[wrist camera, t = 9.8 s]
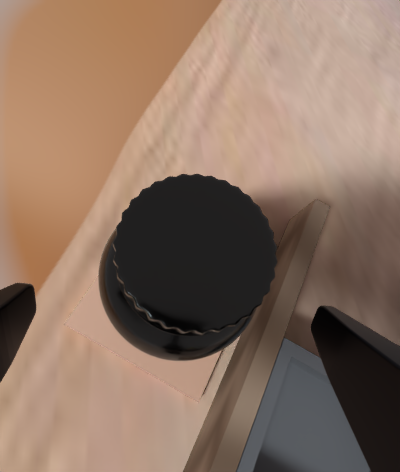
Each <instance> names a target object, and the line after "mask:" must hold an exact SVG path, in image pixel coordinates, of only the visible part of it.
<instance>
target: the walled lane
mask: <svg viewBox="0 0 400 472" xmlns="http://www.w3.org/2000/svg"><path fill="white" fill-rule="evenodd" d="M329 208H330V206H328V205H326V204H325V203H323V202H321V201H319V200H317V199H315V200H314V201H313V202H311V203H310V204H309V205H308V206H306V207H305V208H304V209H303V210H301V211H300V212H299V213H298V214H297V215H295V216H294V217H293V218H292V219H290V220H289V223H288V225H287V228H286V230H285V232H284V235H283V237H282V239H281V242H280V244H279V246H278V249H277V251H276V254H275V255H276V258H277V264H276V266H275V268H274V270H275V278H274V279H273V281H272V282H271V284H270V292H269V293H267V294H266V295H265V296H264V297H263V301H262V304H261V305H260V306H259V307H257V309H256V311H255V313H254V316H253V318H252V319H251V321H250V323H249V324H248V326H247V327H246V329H245V330H244V331H243V332H242V334H241V336H240V339H239V341H238V343H237V346H236V348H235V350H234V353H233V355H232V357H231V360H230V362H229V365H228V367H227V369H226V372H225V374H224V376H223V379H222V381H221V383H220V386H219V388H218V391H217V393H216V395H215V398H214V400H213V402H212V405H211V407H210V409H209V412H208V414H207V417H206V419H205V421H204V424H203V426H202V428H201V431H200V433H199V435H198V438H197V440H196V442H195V445H194V447H193V450H192V452H191V454H190V457H189V459H188V461H187V464H186V466H185V468H184V471H183V472H236V469H237V467H238V464H239V461H240V458H241V455H242V453H243V450H244V447H245V444H246V441H247V439H248V436H249V433H250V430H251V427H252V425H253V422H254V419H255V416H256V413H257V411H258V408H259V405H260V402H261V399H262V397H263V394H264V391H265V388H266V385H267V382H268V380H269V377H270V374H271V371H272V368H273V366H274V363H275V360H276V357H277V354H278V352H279V349H280V346H281V343H282V340H283V338H284V335H285V332H286V329H287V326H288V324H289V321H290V318H291V315H292V312H293V309H294V307H295V304H296V301H297V298H298V295H299V293H300V290H301V287H302V284H303V281H304V279H305V276H306V273H307V270H308V267H309V265H310V262H311V259H312V256H313V253H314V251H315V248H316V245H317V242H318V239H319V236H320V234H321V231H322V228H323V225H324V222H325V220H326V217H327V214H328V211H329Z"/></svg>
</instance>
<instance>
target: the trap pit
mask: <svg viewBox="0 0 400 472" xmlns="http://www.w3.org/2000/svg"><path fill="white" fill-rule="evenodd" d="M236 472H371V471H370V468H369V466H368V464H367V462H366V460H365V458H364V455H363V453H362V451H361V449H360V447H359V444H358V442H357V440H356V438H355V436H354V434H353V431H352V429H351V427H350V425H349V423H348V421H347V418H346V416H345V414H344V412H343V410H342V407H341V405H340V403H339V401H338V399H337V397H336V394H335V392H334V390H333V388H332V386H331V383H330V381H329V379H328V377H327V374H326V371H325V369H324V366H323V363H322V360H321V358H319V357H318V356H316V355H314V354H312V353H311V352H309V351H307V350H305V349H304V348H302V347H300V346H298V345H297V344H295V343H293V342H291V341H290V340H288V339H286V338H283V340H282V343H281V346H280V349H279V352H278V354H277V357H276V360H275V363H274V366H273V368H272V371H271V374H270V377H269V380H268V382H267V385H266V388H265V391H264V394H263V397H262V399H261V402H260V405H259V408H258V411H257V413H256V416H255V419H254V422H253V425H252V427H251V430H250V433H249V436H248V439H247V441H246V444H245V447H244V450H243V453H242V455H241V458H240V461H239V464H238V467H237V469H236Z"/></svg>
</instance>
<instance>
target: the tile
mask: <svg viewBox="0 0 400 472" xmlns="http://www.w3.org/2000/svg"><path fill="white" fill-rule="evenodd" d="M64 325H65V326H67V327H69V328H71V329H72V330H74V331H76V332H78V333H79V334H81V335H83V336H84V337H86V338H88V339H90V340H91V341H93V342H95V343H97V344H98V345H100V346H102V347H103V348H105V349H107V350H109V351H110V352H112V353H114V354H116V355H117V356H119V357H121V358H122V359H124V360H126V361H128V362H129V363H131V364H133V365H134V366H136V367H138V368H140V369H141V370H143V371H145V372H147V373H148V374H150V375H152V376H153V377H155V378H157V379H159V380H160V381H162V382H164V383H166V384H167V385H169V386H171V387H172V388H174V389H176V390H178V391H179V392H181V393H183V394H185V395H186V396H188V397H190V398H191V399H193V400H195V401H197V402H198V403H199V401H200V399H201V396H202V394H203V392H204V389H205V387H206V385H207V383H208V380H209V378H210V376H211V374H212V371H213V369H214V367H215V365H216V362H217V360H218V358H219V356H220V353H221V351H222V350H221V351H219V352H217V353H215V354H213V355H211V356H208V357H205V358H201V359H197V360H191V361H171V360H165V359H160V358H157V357H154V356H151V355H148V354H146V353H144V352H142V351H140V350H139V349H137V348H135V347H134V346H132V345H131V344H130V343H129V342H127V341H126V340H125V339H124V338H123V337H122V336H121V335H120V334H119V333H118V331H117V330H116V329H115V328H114V326H113V325H112V323H111V322H110V320H109V318H108V316H107V314H106V312H105V310H104V307H103V305H102V301H101V298H100V292H99V283H98V276H97V278H96V279H95V280H94V282H93V283H92V285H91V286H90V287H89V289H88V290H87V292H86V293H85V295H84V296H83V297H82V299H81V300H80V302H79V303H78V304H77V306H76V307H75V309H74V310H73V311H72V313H71V314H70V316H69V317H68V318H67V320H66V321H65V323H64Z"/></svg>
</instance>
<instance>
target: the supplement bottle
mask: <svg viewBox="0 0 400 472" xmlns="http://www.w3.org/2000/svg"><path fill="white" fill-rule="evenodd" d="M273 238H274V233H273V231H272V230H271V228H270V227H269V223H268V219H267V218H266V217H265V216H264V215H263V214H262V212H261V209H260V207H259V206H258V205H256V204H255V203H253V201H252V199H251V197H250V196H248V195H247V194H244V193H243V192H242V191H241V190H240V189H239V187H236V186H232V185H230V184H229V183H228V182H227V181H226V180H218V179H216V178H215V177H213V176H202V175H200V174H194V175H187V174H181V175H179V176H177V177H167V178H166V179H164V180H163V181H157V182H154V183H153V184H152V185H151V186H150V187H149V188H145V189H143V190H142V191H141V192H140V194H139V196H138V197H136V198H134V199H132V200H131V202H130V205H129V208H128V209H126V210H125V211H124V212H123V213H122V221H121V222H120V223H119V224H118V225H117V227H116V229H115V230H114V232H113V233H112V235H111V236H110V238H109V240H108V242H107V244H106V246H105V248H104V251H103V253H102V257H101V261H100V266H99V275H98V283H99V292H100V298H101V301H102V305H103V307H104V310H105V312H106V314H107V316H108V318H109V320H110V322H111V323H112V325H113V326H114V328H115V329H116V330H117V331H118V333H119V334H120V335H121V336H122V337H123V338H124V339H125V340H126V341H127V342H129V343H130V344H131V345H132V346H134V347H135V348H137V349H139V350H140V351H142V352H144V353H146V354H148V355H151V356H154V357H157V358H160V359H165V360H171V361H191V360H197V359H201V358H205V357H208V356H211V355H213V354H215V353H217V352H219V351H221V350H222V349H224V348H226V347H227V346H228V345H230V344H231V343H232V342H234V341H235V340H236V339H237V338H238V337H239V336H240V335H241V334H242V332H243V331H244V330H245V329H246V327H247V326H248V324H249V323H250V321H251V319H252V318H253V316H254V313H255V311H256V309H257V307H259V306H260V305H261V304H262V301H263V297H264V296H265V295H266V294H267V293H269V292H270V284H271V282H272V281H273V279H274V278H275V270H274V268H275V266H276V264H277V258H276V255H275V253H276V249H277V246H276V244H275V242H274V240H273Z"/></svg>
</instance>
